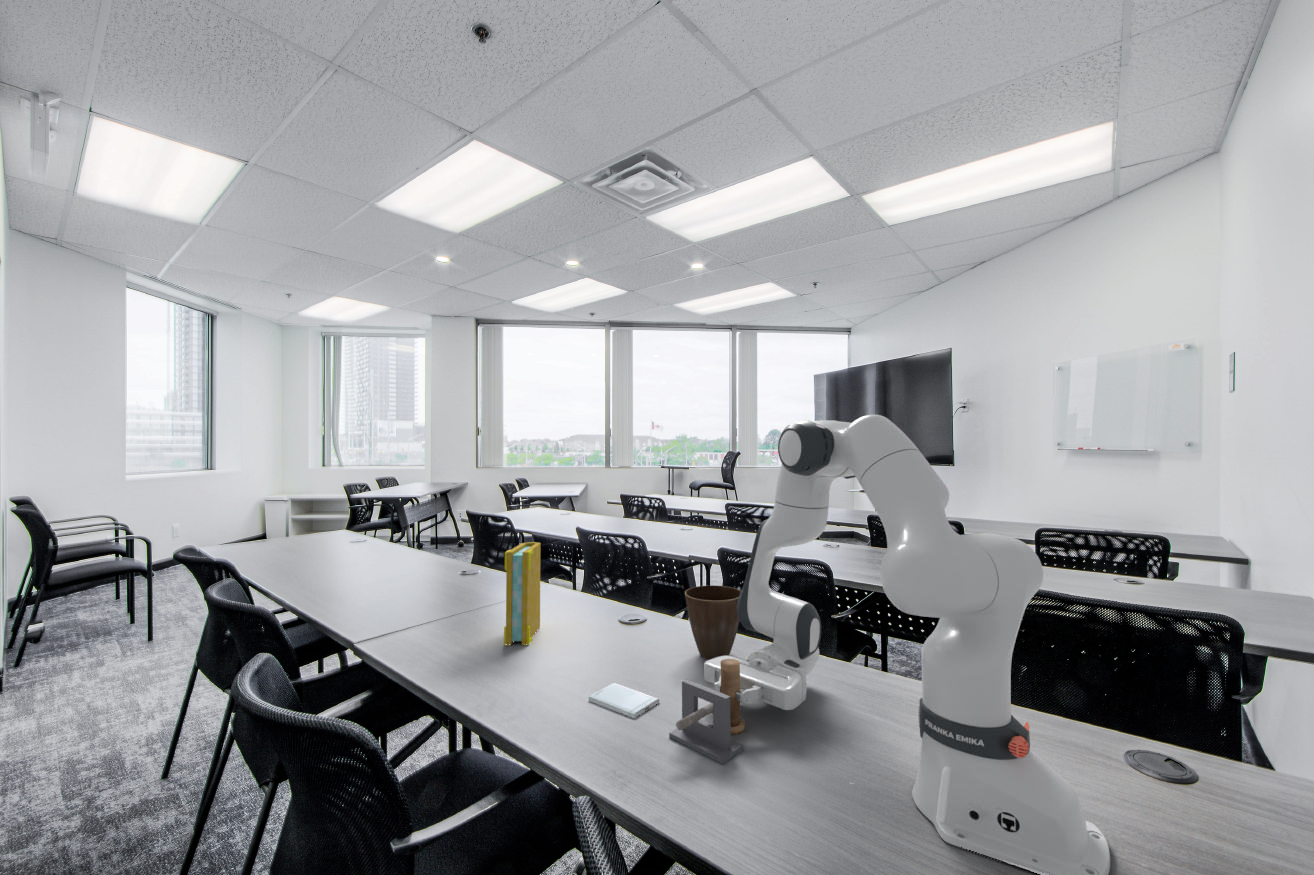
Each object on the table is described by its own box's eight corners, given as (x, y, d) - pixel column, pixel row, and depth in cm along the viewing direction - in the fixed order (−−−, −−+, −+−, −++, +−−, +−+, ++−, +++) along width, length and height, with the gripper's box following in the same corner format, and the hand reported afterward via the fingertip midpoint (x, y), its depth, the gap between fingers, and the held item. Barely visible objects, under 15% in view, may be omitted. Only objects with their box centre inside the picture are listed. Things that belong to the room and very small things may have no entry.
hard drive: (588, 695, 108) (634, 712, 101) (614, 681, 115) (659, 697, 107) (588, 703, 108) (634, 721, 100) (614, 689, 115) (659, 705, 107)
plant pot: (738, 670, 123) (737, 602, 124) (678, 662, 128) (677, 597, 128) (748, 648, 137) (747, 587, 138) (693, 642, 142) (693, 583, 143)
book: (528, 645, 140) (529, 552, 141) (504, 645, 140) (504, 552, 141) (543, 625, 157) (543, 542, 158) (521, 625, 157) (521, 542, 158)
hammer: (750, 727, 97) (749, 662, 98) (691, 766, 85) (690, 691, 85) (727, 717, 101) (727, 654, 101) (668, 753, 89) (667, 682, 89)
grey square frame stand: (743, 749, 90) (743, 693, 90) (722, 764, 85) (722, 705, 86) (690, 724, 98) (690, 673, 98) (669, 737, 94) (669, 683, 94)
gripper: (726, 643, 114) (685, 661, 104) (812, 669, 100) (774, 693, 90) (726, 672, 114) (685, 693, 104) (813, 702, 100) (775, 730, 90)
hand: (727, 693), depth 97 cm, fingers open, 4 cm apart
